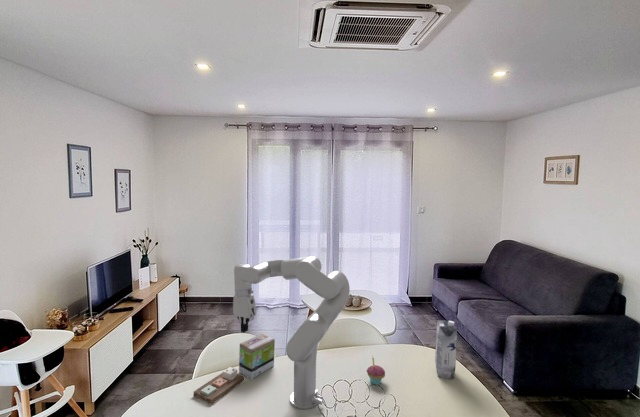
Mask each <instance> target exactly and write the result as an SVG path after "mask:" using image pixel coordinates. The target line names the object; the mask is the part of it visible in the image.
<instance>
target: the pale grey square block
mask: <svg viewBox="0 0 640 417" xmlns="http://www.w3.org/2000/svg"><path fill="white" fill-rule="evenodd" d="M215 391H217V388H215V387H213V386H211V385H208V386H207V387H205V388H204V389H202V390H201V393H202V394H204V395H206V396H210V395H211V394H213V393H214V392H215Z"/></svg>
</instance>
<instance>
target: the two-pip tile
mask: <svg viewBox="0 0 640 417" xmlns="http://www.w3.org/2000/svg"><path fill="white" fill-rule="evenodd" d="M222 373H223V378H225V379H227V380H229V381H231V380H233V379H234V378H235V377H236V376H237V374H238V369H237V368H235V367H232V366H229V367H228V368H226V369H224V370H223V371H222Z"/></svg>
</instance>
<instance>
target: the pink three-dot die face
mask: <svg viewBox="0 0 640 417" xmlns="http://www.w3.org/2000/svg"><path fill="white" fill-rule="evenodd" d="M227 380H228V379H227ZM227 380H225V379H222V378H219V379H217V380H216V381H214V382H213V383H212V385H213V386H215V387H217V388H221V387H223V386H224V385H225V384H227Z"/></svg>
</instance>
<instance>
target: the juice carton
mask: <svg viewBox="0 0 640 417" xmlns="http://www.w3.org/2000/svg"><path fill="white" fill-rule="evenodd" d="M455 323H456V322H455V321H452V320H445V319H444V320H443V319H438V320H437V324H436V332H435V333H436V334H435V356H434V363H435V369H436V374H437V377H439V378H444V379H450V380H453V379H454V378H455V374H456V364H457V363H456V362H457V360H456V359H457V344H458V332H457V327H456V326H455Z"/></svg>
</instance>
